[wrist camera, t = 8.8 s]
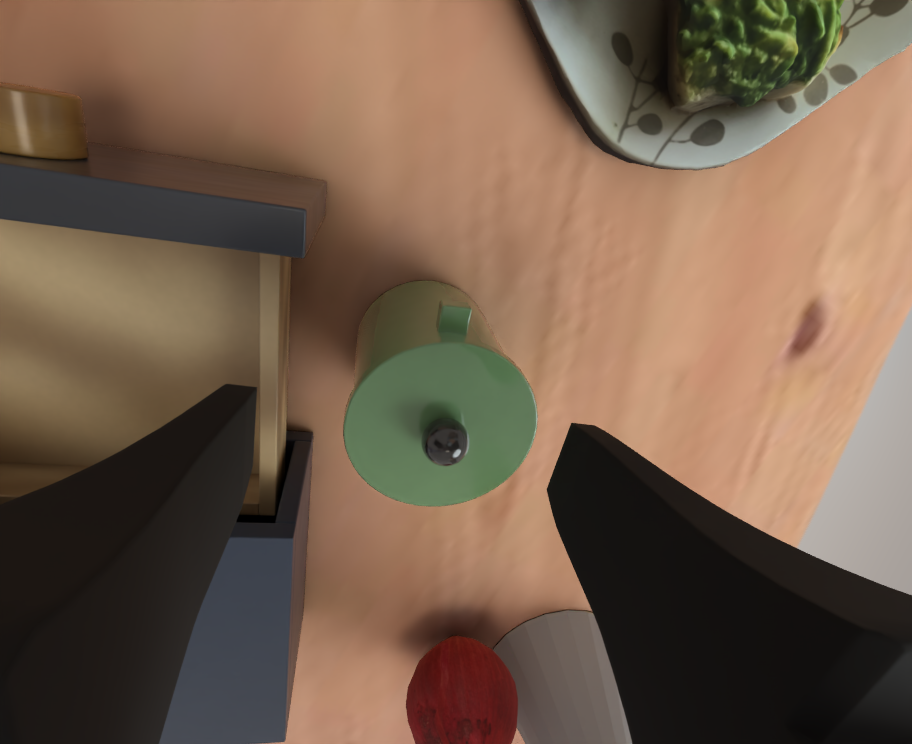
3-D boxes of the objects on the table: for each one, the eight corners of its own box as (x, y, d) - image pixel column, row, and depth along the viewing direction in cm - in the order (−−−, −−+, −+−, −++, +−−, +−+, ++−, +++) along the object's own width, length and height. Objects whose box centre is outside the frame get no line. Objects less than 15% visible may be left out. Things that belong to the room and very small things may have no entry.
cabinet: (-46, 409, 19) (-218, 529, 13) (313, 431, 22) (293, 538, 16) (18, 617, 24) (-87, 766, 18) (303, 613, 27) (285, 742, 21)
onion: (383, 650, 29) (386, 822, 22) (447, 591, 27) (472, 755, 20) (457, 679, 31) (481, 843, 24) (519, 626, 30) (565, 784, 23)
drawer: (-173, 44, 13) (-510, -1, 8) (329, 135, 16) (309, 144, 11) (-42, 452, 19) (-193, 574, 14) (311, 468, 22) (291, 575, 17)
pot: (345, 411, 21) (332, 548, 15) (359, 249, 18) (351, 327, 12) (475, 420, 22) (519, 551, 16) (509, 269, 20) (581, 351, 13)
